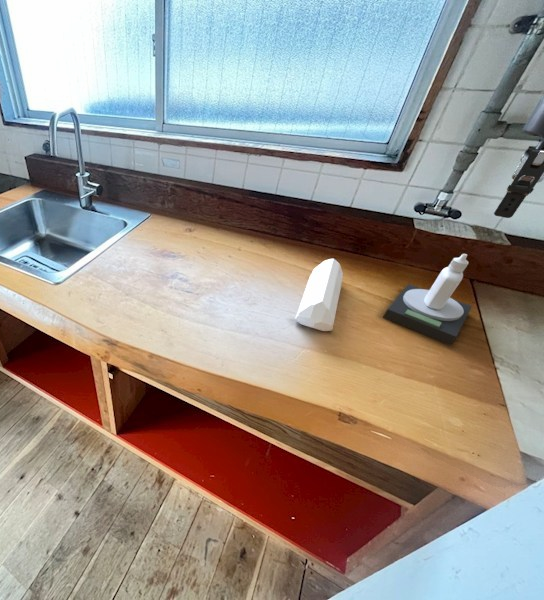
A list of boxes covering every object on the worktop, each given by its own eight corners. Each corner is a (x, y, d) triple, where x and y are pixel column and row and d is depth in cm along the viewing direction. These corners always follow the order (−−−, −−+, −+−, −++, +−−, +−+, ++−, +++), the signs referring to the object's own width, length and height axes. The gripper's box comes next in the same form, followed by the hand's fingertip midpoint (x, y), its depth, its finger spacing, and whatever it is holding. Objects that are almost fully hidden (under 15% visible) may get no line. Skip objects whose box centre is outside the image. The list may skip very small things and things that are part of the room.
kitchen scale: (466, 314, 71) (474, 303, 69) (449, 345, 64) (458, 333, 62) (403, 291, 79) (409, 280, 77) (382, 317, 71) (389, 306, 69)
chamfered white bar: (346, 328, 63) (355, 270, 79) (317, 304, 64) (332, 252, 80) (316, 344, 69) (330, 287, 85) (290, 322, 69) (309, 270, 85)
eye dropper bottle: (452, 305, 69) (487, 256, 62) (435, 312, 67) (468, 262, 60) (431, 294, 72) (461, 246, 65) (414, 300, 71) (443, 252, 63)
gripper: (622, 104, 39) (531, 228, 49) (621, 94, 46) (542, 204, 56) (536, 101, 44) (468, 215, 53) (546, 92, 51) (485, 194, 61)
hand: (506, 209), depth 55 cm, fingers open, 8 cm apart
